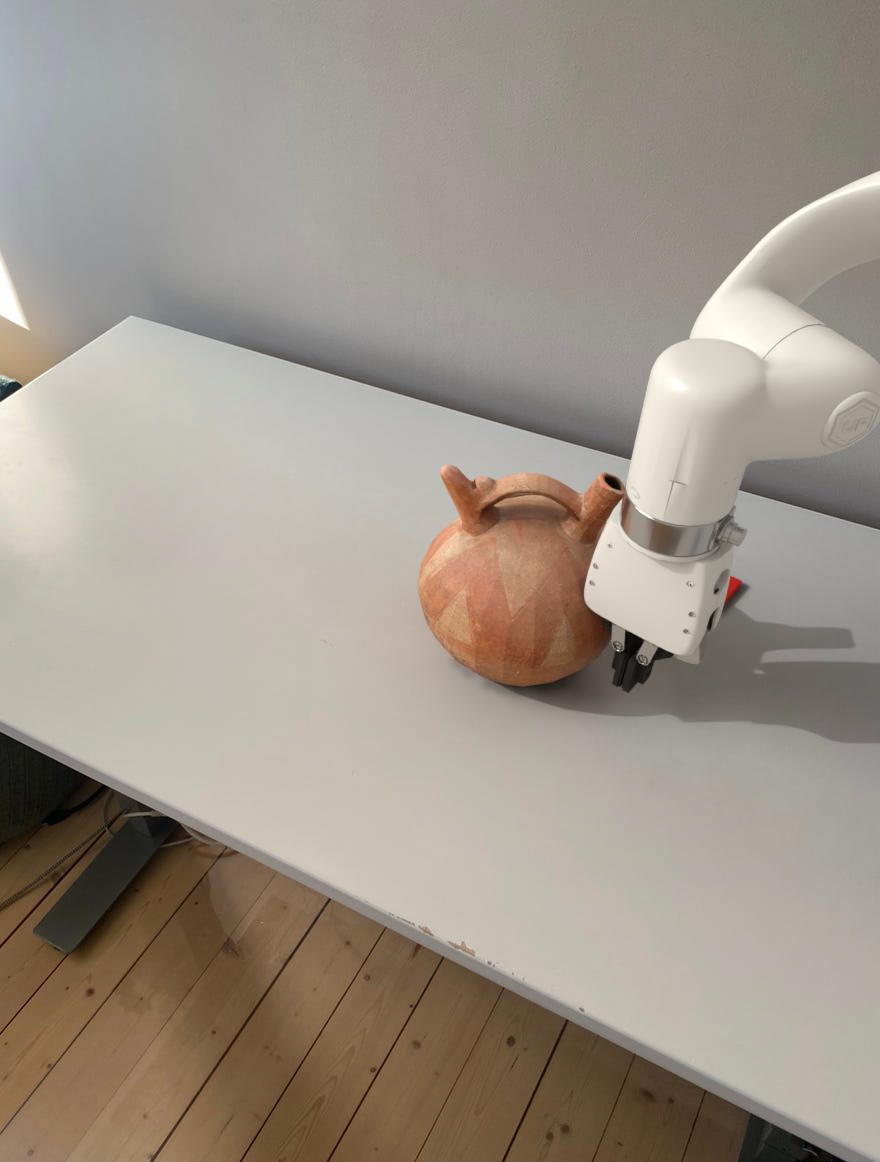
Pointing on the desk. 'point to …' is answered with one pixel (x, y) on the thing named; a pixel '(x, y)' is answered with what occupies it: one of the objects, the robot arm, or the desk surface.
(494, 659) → the jug
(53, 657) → the desk surface
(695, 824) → the desk surface
